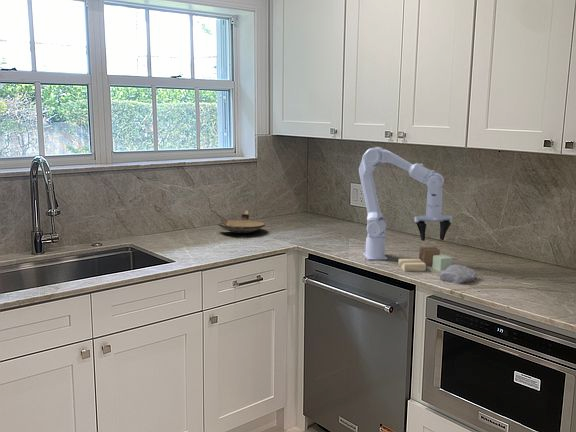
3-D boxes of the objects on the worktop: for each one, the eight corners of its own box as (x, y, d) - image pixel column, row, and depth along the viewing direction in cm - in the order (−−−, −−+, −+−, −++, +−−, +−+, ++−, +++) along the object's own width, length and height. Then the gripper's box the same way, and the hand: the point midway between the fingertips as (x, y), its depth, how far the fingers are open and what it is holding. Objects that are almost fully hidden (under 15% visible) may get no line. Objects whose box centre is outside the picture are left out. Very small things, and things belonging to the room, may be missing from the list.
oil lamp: (208, 235, 264) (207, 219, 263) (239, 224, 291) (239, 209, 290) (250, 240, 255) (250, 223, 254) (278, 228, 282) (278, 213, 281)
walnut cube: (418, 261, 224) (419, 246, 223) (433, 261, 224) (434, 246, 223) (423, 265, 218) (424, 250, 217) (438, 265, 218) (439, 250, 217)
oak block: (398, 266, 217) (398, 258, 216) (418, 266, 218) (419, 258, 217) (404, 272, 209) (404, 264, 209) (425, 272, 210) (425, 264, 209)
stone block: (476, 283, 202) (450, 272, 208) (480, 271, 201) (454, 260, 207) (463, 292, 193) (436, 280, 199) (466, 279, 192) (440, 268, 198)
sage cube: (432, 268, 214) (433, 255, 213) (443, 267, 216) (444, 254, 215) (440, 271, 209) (441, 258, 208) (451, 270, 211) (452, 257, 210)
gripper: (419, 207, 211) (418, 242, 213) (456, 206, 213) (454, 241, 215) (413, 204, 218) (411, 238, 220) (448, 203, 220) (446, 237, 222)
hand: (432, 240), depth 218 cm, fingers open, 7 cm apart
